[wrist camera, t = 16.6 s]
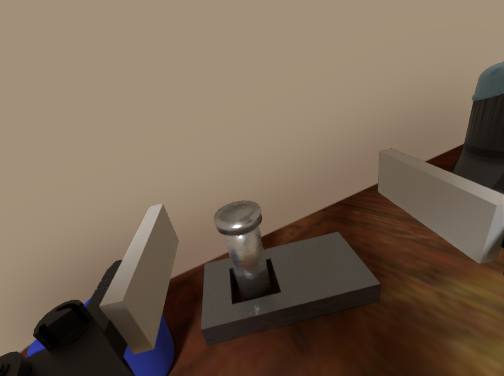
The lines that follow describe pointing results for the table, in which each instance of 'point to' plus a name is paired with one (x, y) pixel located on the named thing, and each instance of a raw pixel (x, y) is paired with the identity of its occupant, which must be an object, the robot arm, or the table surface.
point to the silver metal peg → (245, 247)
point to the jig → (288, 288)
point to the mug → (141, 354)
